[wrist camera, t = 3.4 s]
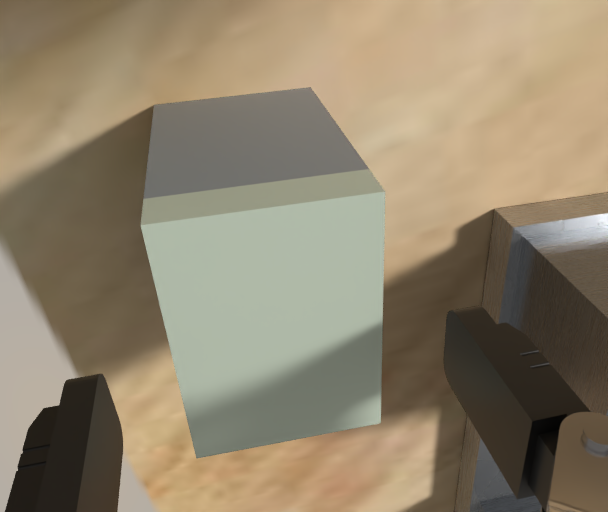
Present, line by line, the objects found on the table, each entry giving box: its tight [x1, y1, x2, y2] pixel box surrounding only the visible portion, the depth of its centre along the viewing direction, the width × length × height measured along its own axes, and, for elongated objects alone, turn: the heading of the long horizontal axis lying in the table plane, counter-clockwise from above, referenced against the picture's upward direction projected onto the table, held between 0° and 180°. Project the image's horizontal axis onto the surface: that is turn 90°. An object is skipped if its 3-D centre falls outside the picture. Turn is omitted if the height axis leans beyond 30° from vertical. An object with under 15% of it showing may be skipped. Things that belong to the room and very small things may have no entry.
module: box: [141, 87, 385, 458], centre depth 17 cm, size 7×5×8 cm
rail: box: [454, 193, 608, 512], centre depth 26 cm, size 24×8×8 cm, turn 4°
